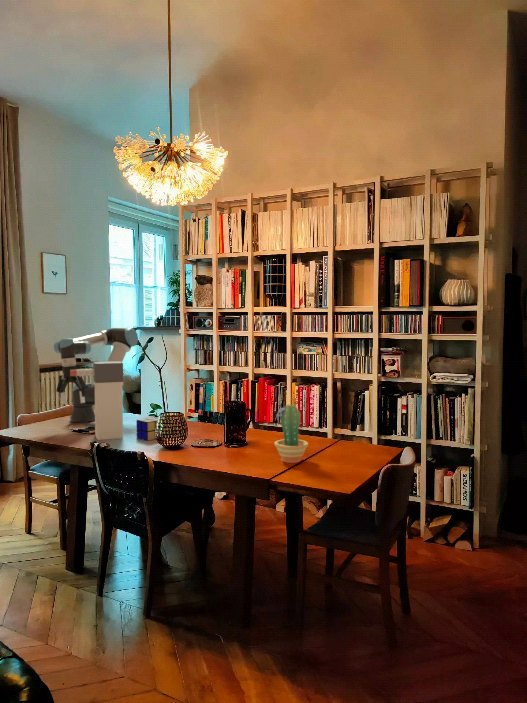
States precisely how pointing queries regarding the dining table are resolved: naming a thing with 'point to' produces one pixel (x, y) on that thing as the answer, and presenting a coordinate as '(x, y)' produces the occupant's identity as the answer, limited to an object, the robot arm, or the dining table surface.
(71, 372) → the plug rod
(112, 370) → the socket stand
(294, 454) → the potted cactus
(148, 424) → the puzzle cube
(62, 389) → the robot arm
